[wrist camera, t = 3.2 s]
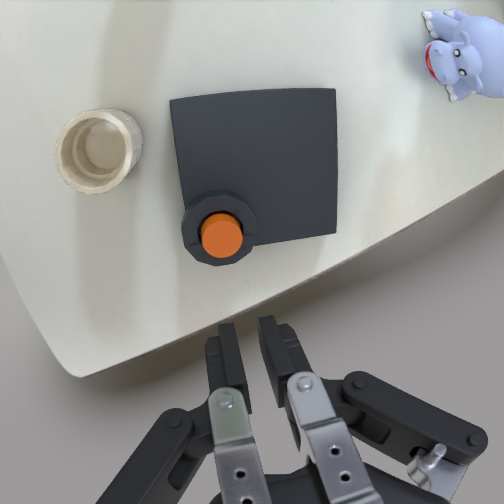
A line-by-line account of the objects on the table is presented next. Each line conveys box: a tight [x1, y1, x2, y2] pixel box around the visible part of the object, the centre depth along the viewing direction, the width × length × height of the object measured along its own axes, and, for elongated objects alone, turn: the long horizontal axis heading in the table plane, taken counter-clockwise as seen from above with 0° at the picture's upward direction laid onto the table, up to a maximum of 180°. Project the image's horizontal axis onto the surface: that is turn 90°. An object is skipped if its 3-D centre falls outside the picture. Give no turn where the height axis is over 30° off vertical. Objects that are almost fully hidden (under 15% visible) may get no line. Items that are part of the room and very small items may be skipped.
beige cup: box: [55, 109, 143, 195], centre depth 20 cm, size 6×6×5 cm
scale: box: [169, 88, 338, 266], centre depth 24 cm, size 13×13×4 cm
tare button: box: [201, 213, 243, 258], centre depth 23 cm, size 3×3×2 cm
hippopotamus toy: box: [423, 9, 504, 102], centre depth 19 cm, size 11×15×10 cm
